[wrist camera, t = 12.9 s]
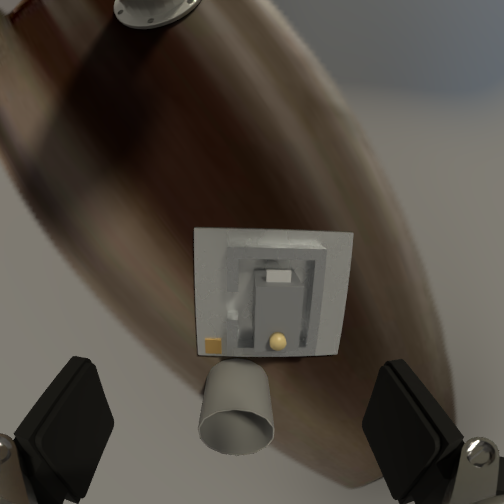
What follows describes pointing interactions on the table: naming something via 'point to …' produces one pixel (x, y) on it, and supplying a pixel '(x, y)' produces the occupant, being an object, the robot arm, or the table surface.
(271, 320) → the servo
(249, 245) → the board
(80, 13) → the table surface
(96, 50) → the table surface
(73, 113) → the table surface
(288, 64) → the table surface
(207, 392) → the cup
